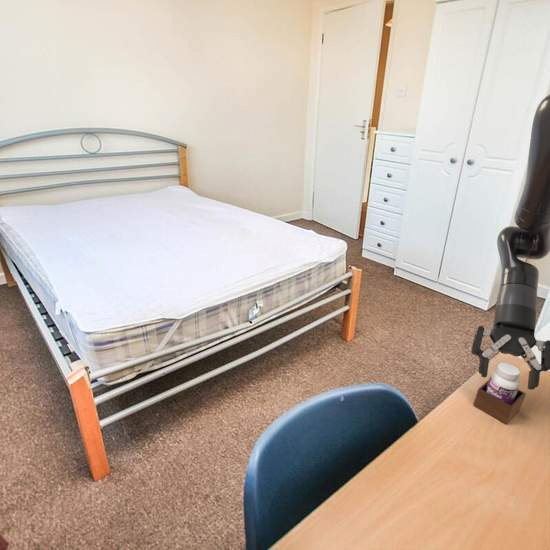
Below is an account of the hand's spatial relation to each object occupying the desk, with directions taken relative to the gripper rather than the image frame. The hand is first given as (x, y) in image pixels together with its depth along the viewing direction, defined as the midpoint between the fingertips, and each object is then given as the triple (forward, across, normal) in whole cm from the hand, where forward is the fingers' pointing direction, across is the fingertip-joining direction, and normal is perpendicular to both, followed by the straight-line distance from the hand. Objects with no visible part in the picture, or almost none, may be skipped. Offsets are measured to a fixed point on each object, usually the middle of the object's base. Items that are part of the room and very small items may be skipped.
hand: (507, 382), depth 78 cm
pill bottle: (+4, 0, +6) cm, 8 cm away
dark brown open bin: (+5, 0, +6) cm, 8 cm away
